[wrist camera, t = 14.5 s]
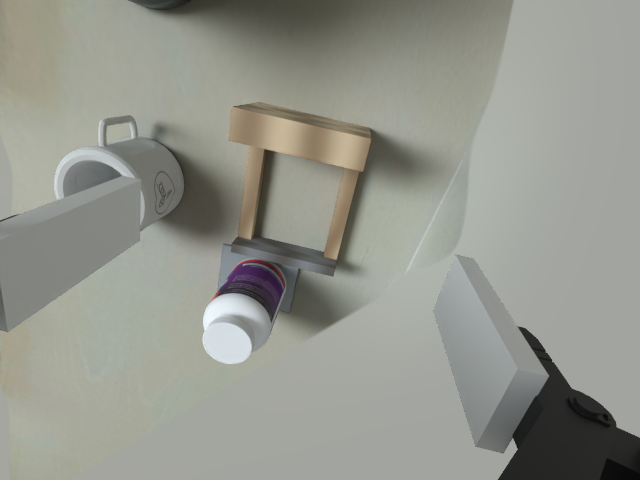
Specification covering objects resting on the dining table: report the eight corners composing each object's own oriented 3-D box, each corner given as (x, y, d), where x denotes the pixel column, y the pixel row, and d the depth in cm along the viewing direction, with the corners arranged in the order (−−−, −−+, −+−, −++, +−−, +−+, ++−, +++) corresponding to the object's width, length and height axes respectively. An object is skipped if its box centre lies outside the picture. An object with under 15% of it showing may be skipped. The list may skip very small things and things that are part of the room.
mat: (217, 294, 56) (216, 295, 55) (223, 243, 53) (222, 244, 52) (289, 311, 56) (289, 312, 55) (300, 261, 52) (299, 263, 52)
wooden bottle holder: (239, 240, 52) (213, 273, 43) (258, 102, 45) (231, 106, 36) (335, 262, 52) (329, 301, 43) (369, 128, 45) (371, 139, 35)
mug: (186, 221, 52) (148, 250, 43) (112, 209, 52) (58, 235, 43) (184, 119, 47) (141, 127, 37) (101, 107, 47) (38, 113, 38)
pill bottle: (231, 252, 52) (187, 307, 39) (288, 257, 52) (262, 315, 39) (233, 301, 56) (193, 369, 42) (287, 307, 55) (263, 377, 42)
